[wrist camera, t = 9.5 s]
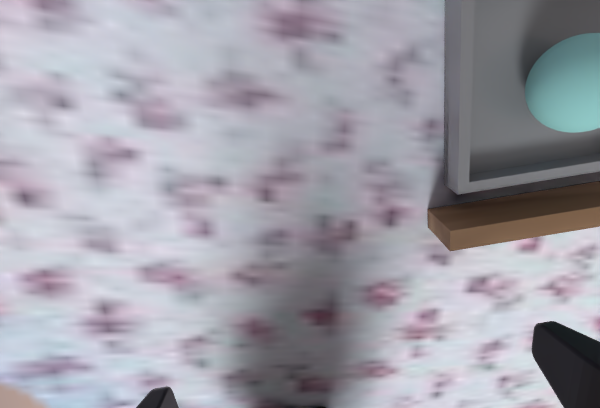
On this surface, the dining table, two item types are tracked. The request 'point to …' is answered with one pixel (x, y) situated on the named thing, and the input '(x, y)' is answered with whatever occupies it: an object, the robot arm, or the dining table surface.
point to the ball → (567, 85)
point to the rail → (517, 216)
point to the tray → (508, 93)
